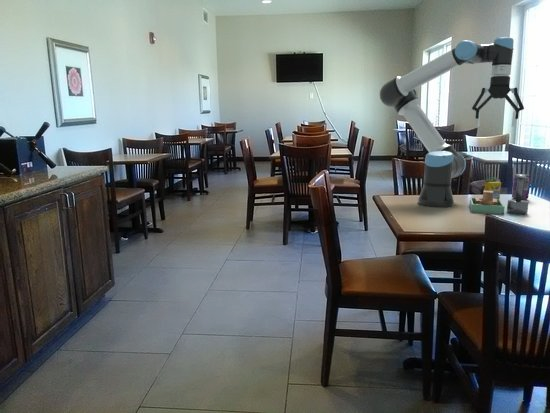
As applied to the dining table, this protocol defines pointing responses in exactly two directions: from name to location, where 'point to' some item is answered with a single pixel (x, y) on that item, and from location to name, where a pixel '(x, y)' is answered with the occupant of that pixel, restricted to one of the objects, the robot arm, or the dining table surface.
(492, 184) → the crayon box
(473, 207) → the tray
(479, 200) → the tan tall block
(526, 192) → the beverage can
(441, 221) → the dining table surface
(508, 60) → the robot arm
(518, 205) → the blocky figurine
